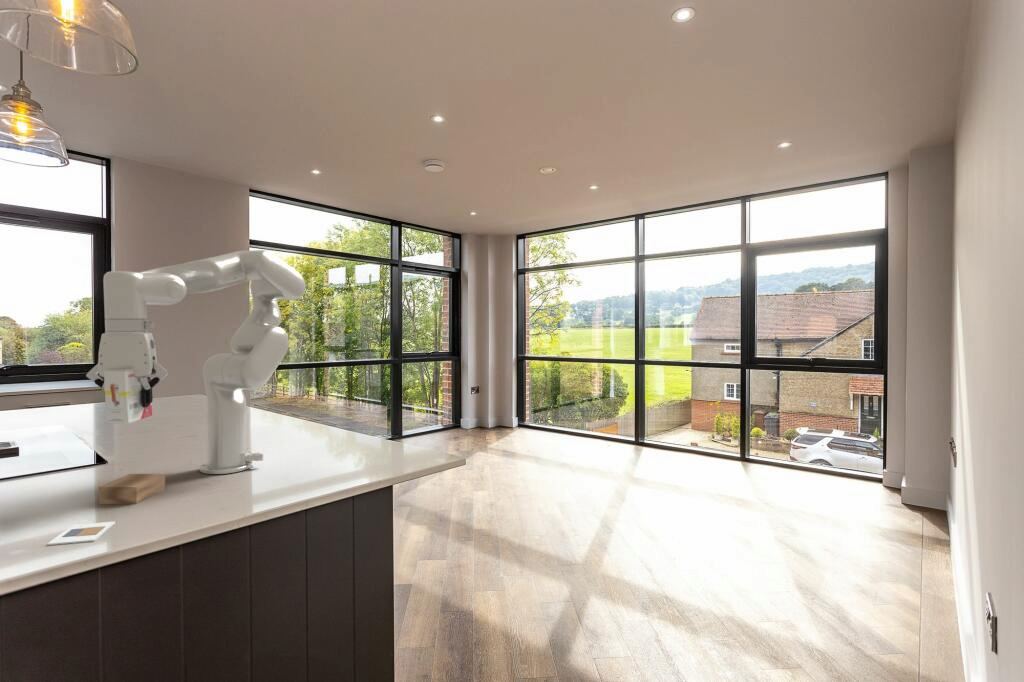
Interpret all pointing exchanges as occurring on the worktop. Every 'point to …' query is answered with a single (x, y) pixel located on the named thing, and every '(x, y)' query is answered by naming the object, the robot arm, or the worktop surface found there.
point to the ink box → (124, 397)
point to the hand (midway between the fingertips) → (129, 406)
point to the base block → (131, 488)
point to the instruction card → (82, 533)
